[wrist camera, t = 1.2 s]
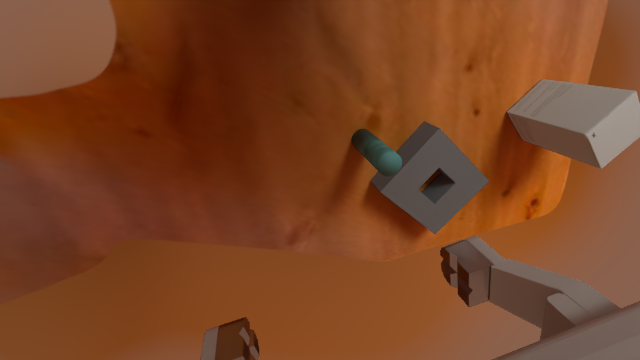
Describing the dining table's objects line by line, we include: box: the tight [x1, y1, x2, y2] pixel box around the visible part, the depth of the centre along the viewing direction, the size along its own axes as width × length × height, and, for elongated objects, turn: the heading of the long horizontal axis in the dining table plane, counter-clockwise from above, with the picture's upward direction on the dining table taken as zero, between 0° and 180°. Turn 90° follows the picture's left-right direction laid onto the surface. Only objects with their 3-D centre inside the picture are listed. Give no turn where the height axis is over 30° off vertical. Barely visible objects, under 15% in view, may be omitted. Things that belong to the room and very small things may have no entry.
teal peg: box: [352, 129, 402, 176], centre depth 39 cm, size 3×3×10 cm
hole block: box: [371, 121, 489, 234], centre depth 47 cm, size 12×14×4 cm
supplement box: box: [507, 79, 640, 169], centre depth 42 cm, size 7×7×13 cm
